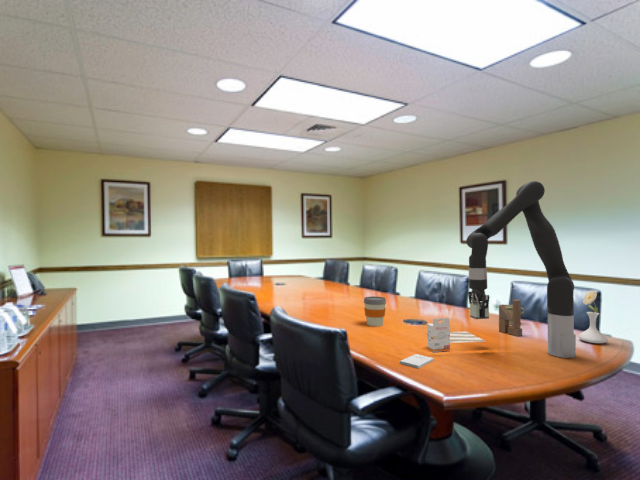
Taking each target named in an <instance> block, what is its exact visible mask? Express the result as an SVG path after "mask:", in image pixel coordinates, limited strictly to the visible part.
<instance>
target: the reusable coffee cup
mask: <svg viewBox="0 0 640 480" xmlns="http://www.w3.org/2000/svg"><path fill="white" fill-rule="evenodd" d="M386 300H387V299H386V297H384V296H366V297H364V298H363V303H364V315H365V317H366V319H365V320H366V325H367V326H370V327H381V326H383V325H384V318H385V314H386V304H387V301H386Z"/></svg>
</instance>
